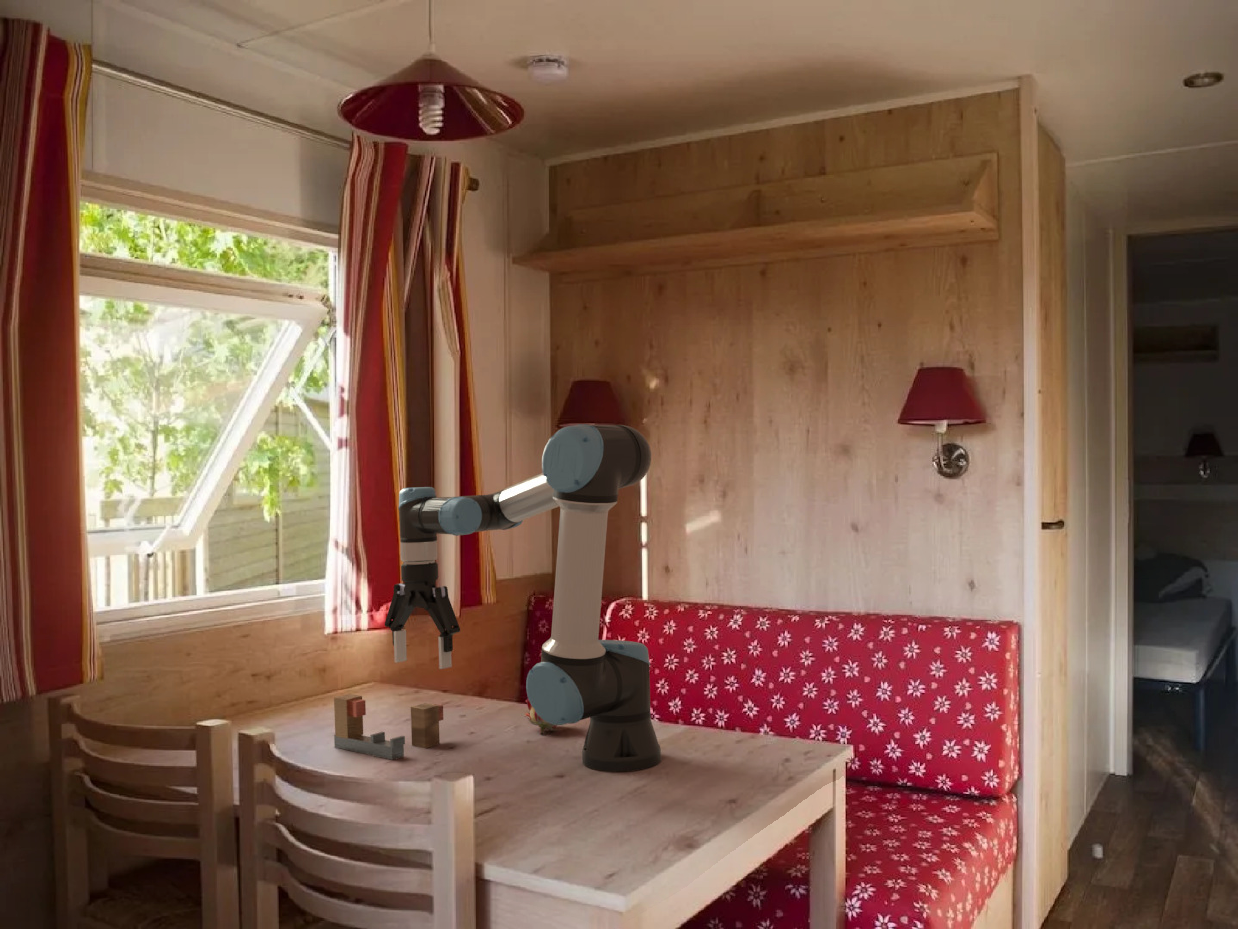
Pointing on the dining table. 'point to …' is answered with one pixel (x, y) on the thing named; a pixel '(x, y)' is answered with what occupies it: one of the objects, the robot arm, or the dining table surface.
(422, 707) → the walnut finger
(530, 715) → the flower
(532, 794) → the dining table surface
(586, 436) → the robot arm
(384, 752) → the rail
